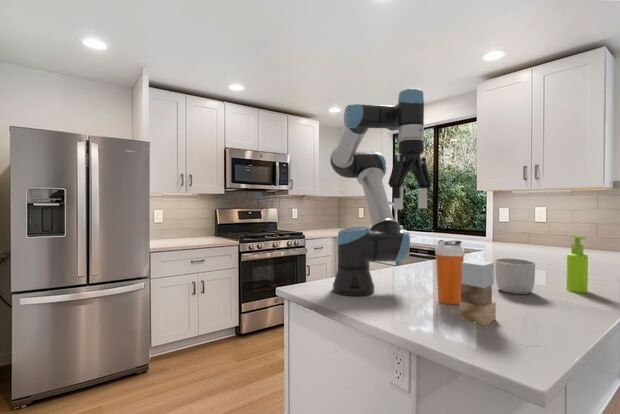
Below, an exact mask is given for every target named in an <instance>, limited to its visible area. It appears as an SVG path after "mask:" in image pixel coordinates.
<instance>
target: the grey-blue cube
mask: <svg viewBox="0 0 620 414" xmlns="http://www.w3.org/2000/svg"><path fill="white" fill-rule="evenodd" d="M494 271H495V262H490V261H484V260H483V261H482V260H475V259H471V260H466V261H463V262H462V284H466V285H471V286H476V287H481V288H485V287H488V286H491V285H492V286H493V285H495V283H494V282H495V281H494V280H495V276H494V275H495V272H494Z"/></svg>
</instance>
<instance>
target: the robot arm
mask: <svg viewBox="0 0 620 414" xmlns="http://www.w3.org/2000/svg"><path fill="white" fill-rule="evenodd" d="M424 99H425V98H424V92H423V90H422V89H421V88H415V87H413V88H406V89H404V90H401V91H399V93H398V99H397V102H398V103H397V104H396V105H391V104H390V105H387V104H386V105H385V104H361V103H360V104H359V103H357V104H348V105H346V107H345V109H344V113H343V123H344V127H345V128H344V130H343V132H342V135H341V136H340V140H339V142H338V145H337V147H336V148H334V149H333V151H332V152H331V155H330V161H329V162H330V166H331V168H332V169H333V171H334V173H336V174H337V175H339V176H340V177H342V178H346V179H356V180H357V183H358V184H360V185H361V186H362V188H363V193H364V197H365V202H366V205H367V209H368V213H369V218H370V222H371V227H369V226H364V225H363V226H355V227H348V228H343V229H340V230H339V231H338V233H337V242H336V245H337V249H336V250H337V271H336V274H335V276H334V277H335V278H334V281H333V283H332V290H333V292H334V293H335V294H339V295H342V296H349V297H362V296H363V297H364V296H369V295H371V294H374V292H375V284H374V281H373V279H372V278H373V277H372V274H371V270H370V263H371V262H372V263H375V262H377V263H378V262H381V263H382V262H398V261H399V262H400V261H404V260H405V259H406V258H407V257H408V255H409V253H410V248H411V237H410V233H409V231H408V230H406V229H404V228H403V229H402V228H401V226H400V223H399V221H397V220H394V217H393V213H392V209H391V206H390V203H389V199H388V196H387V192H386V190H385V185H384V183H383V179H384V177H385V175H386V172H387V163H386V159H385V157H384V155H383V154H382V153H380V152H375V151H357V149H358V147H359V146H360V145H361V142H362V141H363V139H364V137H365V136H366V133H367V131H368V130H369V129H387V130H389V131H390V132H393V131H398V135H397V137H398V154H395V155H394V163H393V166H392V169H391V172H390V173H391V174H390V176H389V179H388V186H389V187H390V188H392V189H393V190H392V191H393V194H392V195H393V196H392V197H393V210H404V187H402V185H403V183H404V181H405V179H406V177H407V175H408V174H409V172H411V173H412V174H414V177H415V180H416V182H417V184H418V188H417V201H418V202H417V208H418V209H427V208H428V189H430V188H431V187H432V182H431V178H430V174H429V170H428V166H427V159H426V157H421V154H423V153H424V151H425V148H424V147H425V145H424V144H425V143H424V142H425V141H424V138H425V137H424V133H425V132H424V131H425V127H424V121H425V120H424V118H425V117H424V115H425V114H424V113H425V101H424Z"/></svg>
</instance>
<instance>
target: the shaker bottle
mask: <svg viewBox="0 0 620 414" xmlns="http://www.w3.org/2000/svg"><path fill="white" fill-rule="evenodd" d="M462 243H463V241H462V240H447V241H446V240H445V241H444V239H440V240H438V242H437V244H438V245H437V246H436V247H435V248H434V254H435V266H436V286H437V287H436V288H437V290H436V291H437V300H439V301H440V302H439V301H438V302H439V303H441V302H443V303H447V304H446V305H449V304H458V305H459V301H461V284H462V262H464V260H465V259H464V257H465V249H464V247H463V246H462V245H461V244H462ZM443 303H442V304H443Z"/></svg>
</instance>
